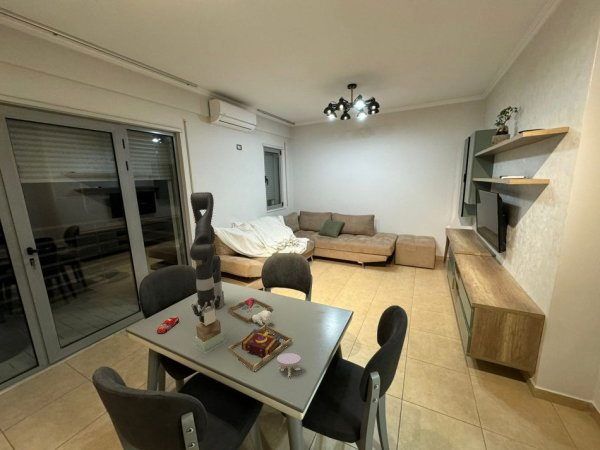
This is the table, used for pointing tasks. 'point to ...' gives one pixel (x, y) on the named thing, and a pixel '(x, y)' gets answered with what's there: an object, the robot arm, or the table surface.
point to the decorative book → (261, 343)
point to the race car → (168, 324)
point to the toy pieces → (249, 302)
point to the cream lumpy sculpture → (263, 317)
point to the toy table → (288, 361)
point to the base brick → (209, 342)
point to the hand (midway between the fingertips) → (208, 319)
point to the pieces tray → (246, 320)
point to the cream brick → (209, 315)
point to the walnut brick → (208, 330)
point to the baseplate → (211, 347)
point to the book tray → (266, 358)
